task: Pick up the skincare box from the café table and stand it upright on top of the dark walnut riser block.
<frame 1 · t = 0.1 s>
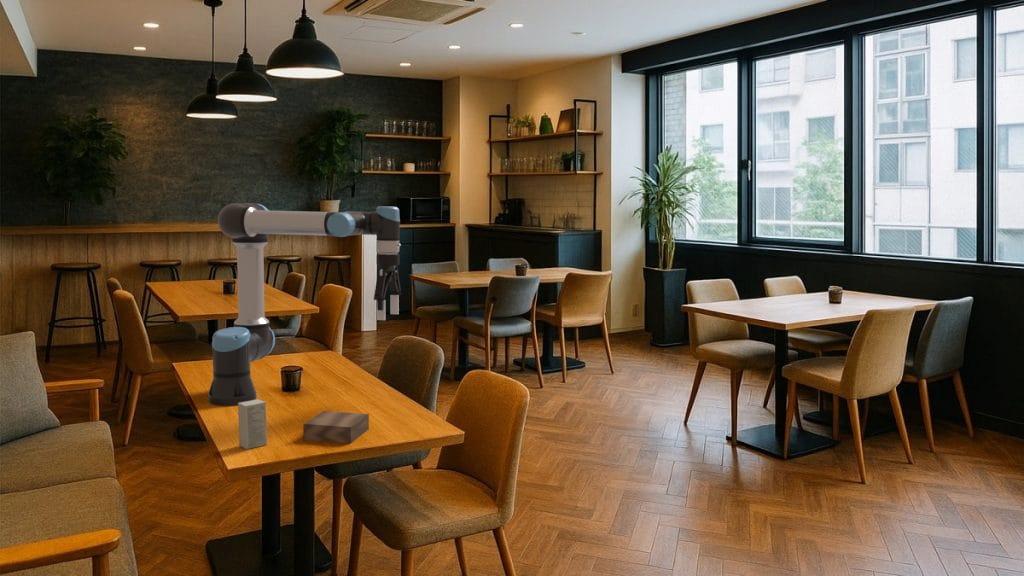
hand: (387, 317, 268), 28 cm above the table, fingers open, 13 cm apart
skincare box: (252, 446, 219), on the table
walnut riser: (336, 435, 231), on the table
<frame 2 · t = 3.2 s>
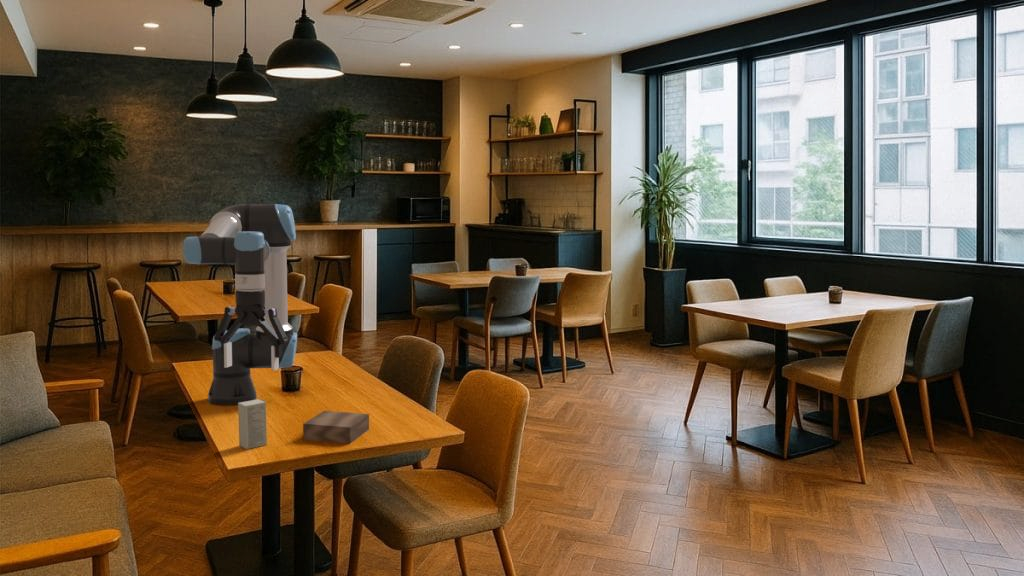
hand: (251, 368, 216), 21 cm above the table, fingers open, 13 cm apart
nothing on the table moved.
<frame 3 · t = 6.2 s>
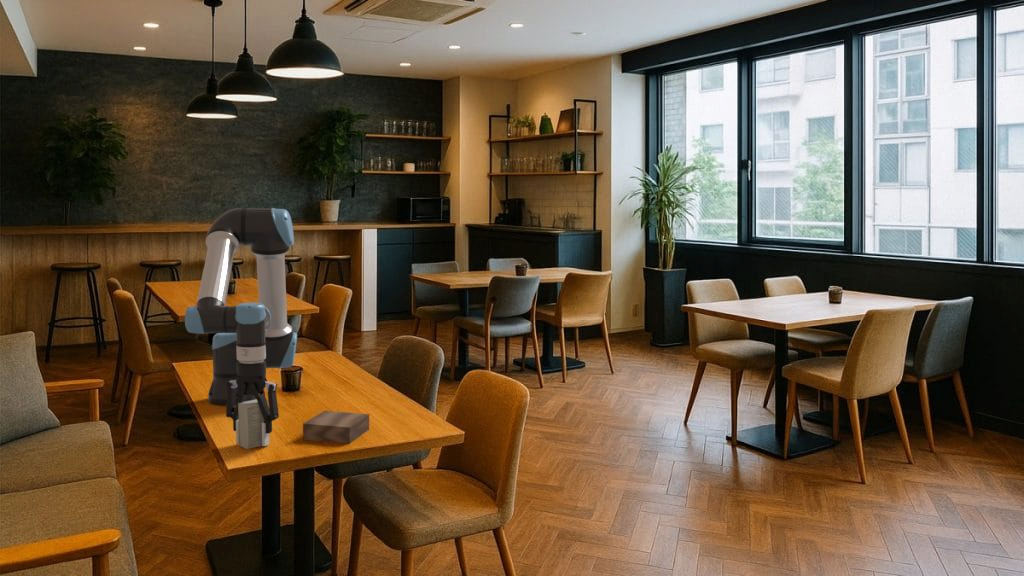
hand: (252, 443, 219), 1 cm above the table, fingers closed on skincare box, 7 cm apart
skincare box: (253, 446, 219), on the table, touching gripper
everything else where it was.
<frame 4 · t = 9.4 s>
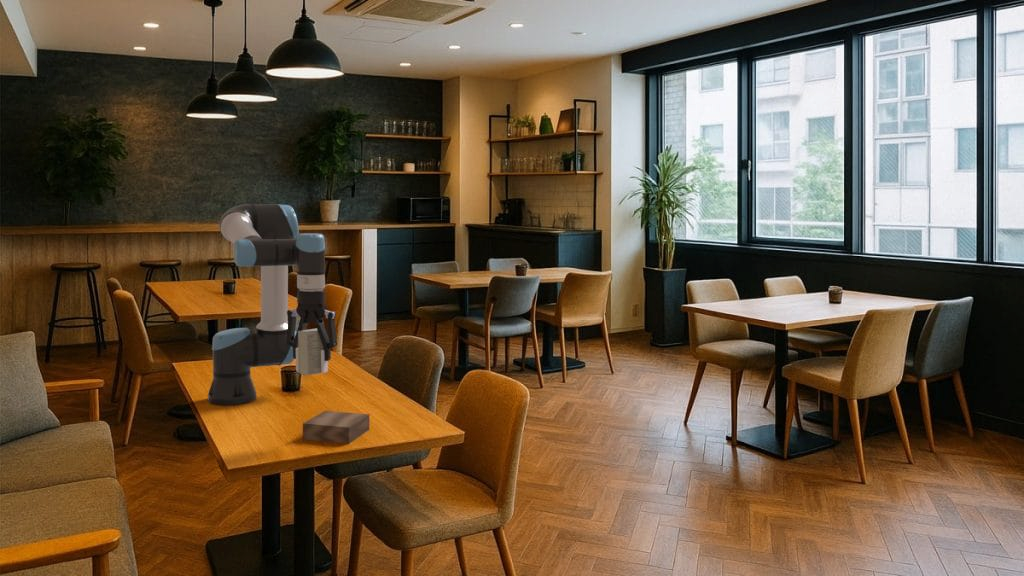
hand: (311, 371, 225), 19 cm above the table, fingers closed on skincare box, 7 cm apart
skincare box: (311, 373, 225), point 18 cm above the table, touching gripper
everything else where it was.
when the fingers open (7 cm above the table, at t = 12.9 s): skincare box drops 2 cm, resting on walnut riser.
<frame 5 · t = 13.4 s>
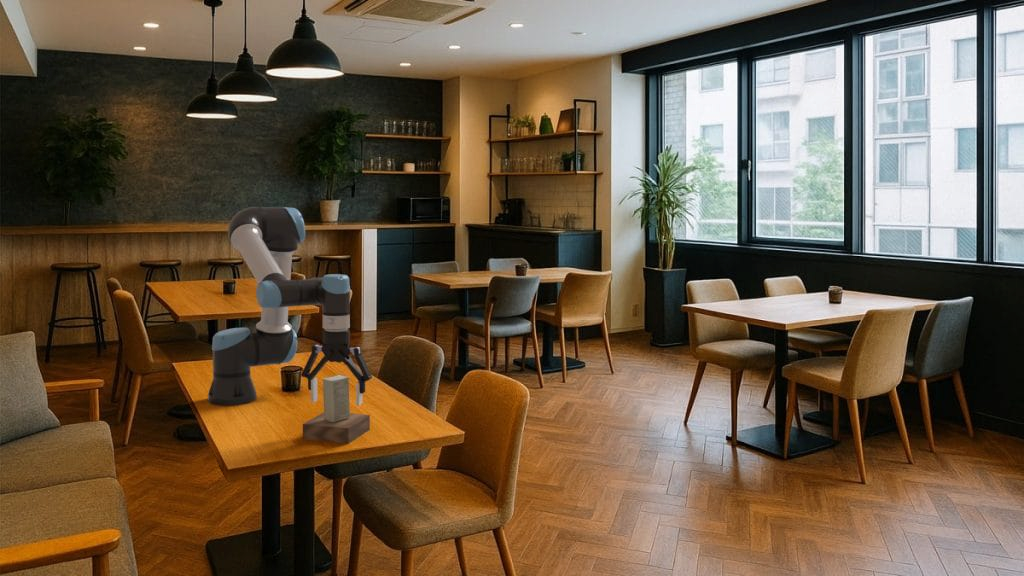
hand: (336, 402, 229), 9 cm above the table, fingers open, 13 cm apart
skincare box: (337, 419, 230), point 4 cm above the table, touching walnut riser
walnut riser: (337, 436, 231), on the table, touching skincare box
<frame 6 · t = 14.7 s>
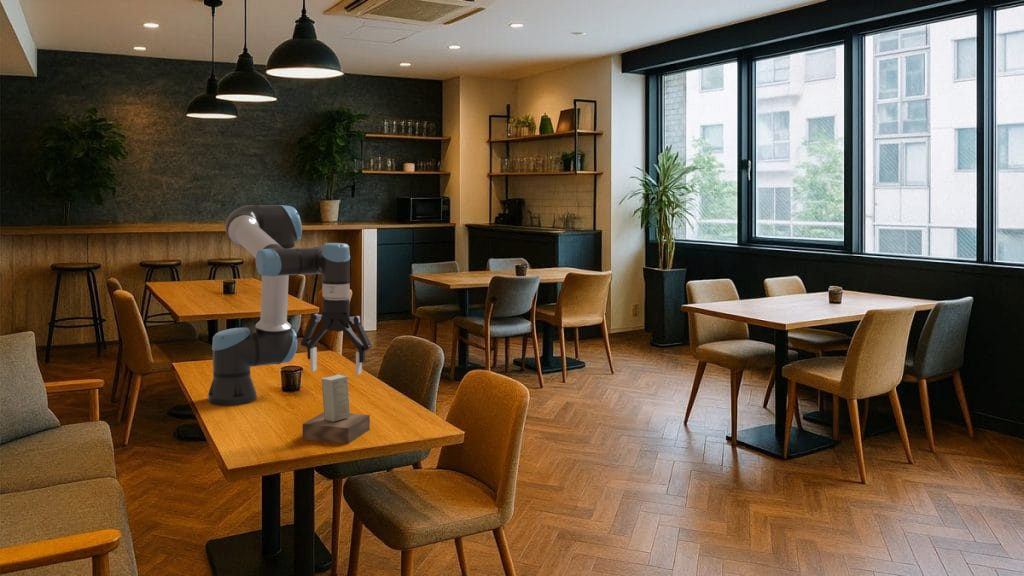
hand: (336, 372, 229), 18 cm above the table, fingers open, 13 cm apart
skincare box: (337, 419, 230), point 4 cm above the table
walnut riser: (336, 436, 231), on the table
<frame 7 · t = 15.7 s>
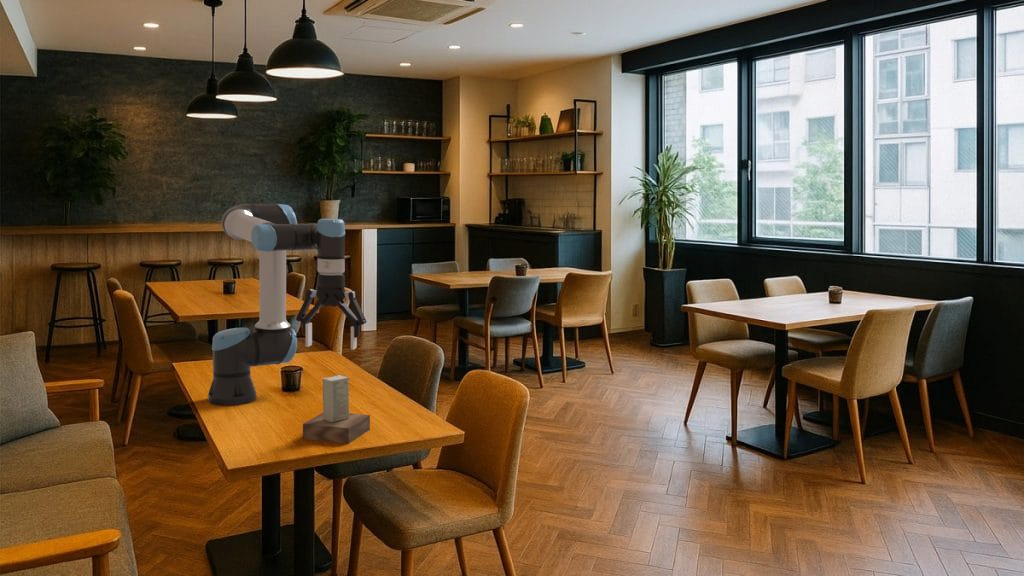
hand: (331, 347, 230), 25 cm above the table, fingers open, 13 cm apart
skincare box: (336, 419, 230), point 4 cm above the table, touching walnut riser
walnut riser: (337, 436, 231), on the table, touching skincare box
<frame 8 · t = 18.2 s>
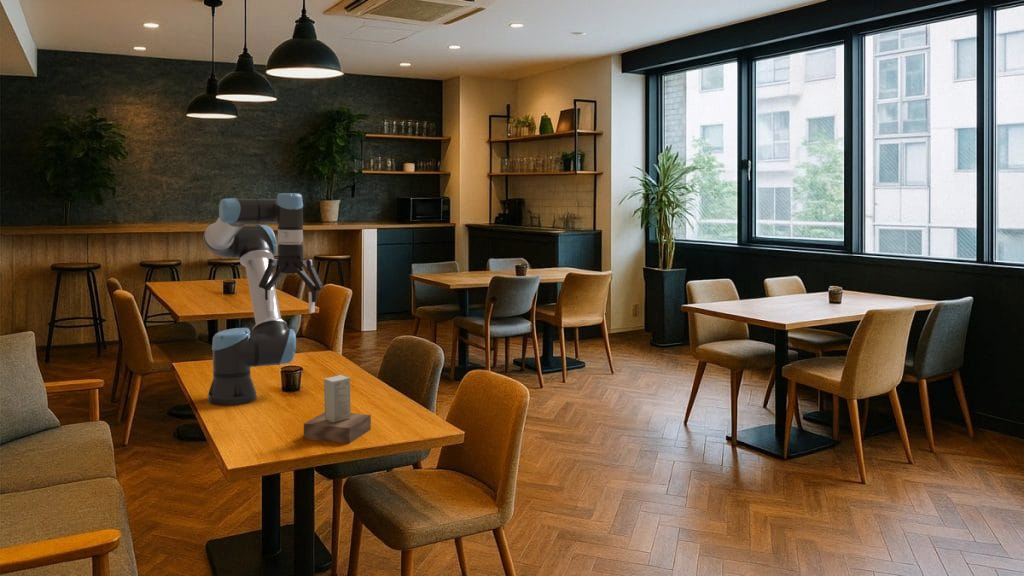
hand: (291, 311, 250), 32 cm above the table, fingers open, 13 cm apart
skincare box: (337, 419, 230), point 4 cm above the table
walnut riser: (338, 436, 231), on the table
at the end: skincare box 0.4 cm from the walnut riser (horizontally); skincare box point 4.3 cm above the table; skincare box tilted 2° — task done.
